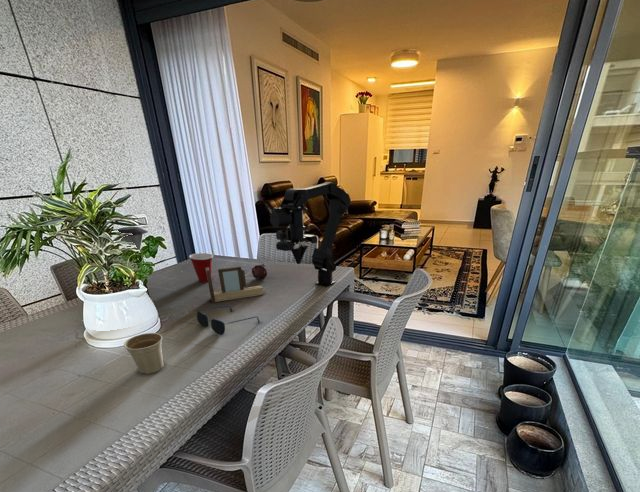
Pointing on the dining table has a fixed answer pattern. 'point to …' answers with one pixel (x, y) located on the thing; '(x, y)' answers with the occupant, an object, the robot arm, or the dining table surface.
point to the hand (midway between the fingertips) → (298, 263)
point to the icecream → (259, 271)
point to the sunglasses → (215, 321)
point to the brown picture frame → (232, 279)
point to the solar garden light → (133, 237)
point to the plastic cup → (202, 265)
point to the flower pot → (146, 352)
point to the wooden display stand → (234, 294)
